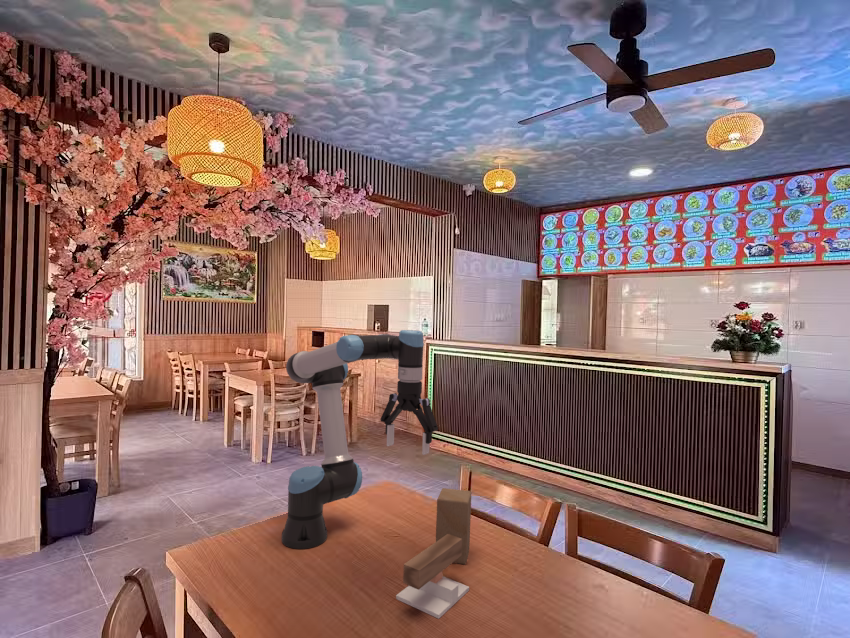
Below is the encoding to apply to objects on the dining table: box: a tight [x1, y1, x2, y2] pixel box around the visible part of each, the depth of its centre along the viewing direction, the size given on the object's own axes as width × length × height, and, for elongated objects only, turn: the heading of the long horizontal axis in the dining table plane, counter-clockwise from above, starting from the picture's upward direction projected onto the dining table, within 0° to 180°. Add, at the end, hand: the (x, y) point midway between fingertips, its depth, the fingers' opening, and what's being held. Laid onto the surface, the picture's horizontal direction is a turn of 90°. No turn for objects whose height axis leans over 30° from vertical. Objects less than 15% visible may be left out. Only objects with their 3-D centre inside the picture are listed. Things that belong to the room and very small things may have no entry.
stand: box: [395, 570, 470, 619], centre depth 134 cm, size 14×16×8 cm
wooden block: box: [435, 487, 472, 565], centre depth 156 cm, size 10×10×20 cm
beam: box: [402, 534, 462, 590], centre depth 134 cm, size 5×22×5 cm, turn 145°
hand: (407, 449), depth 147 cm, fingers open, 13 cm apart
